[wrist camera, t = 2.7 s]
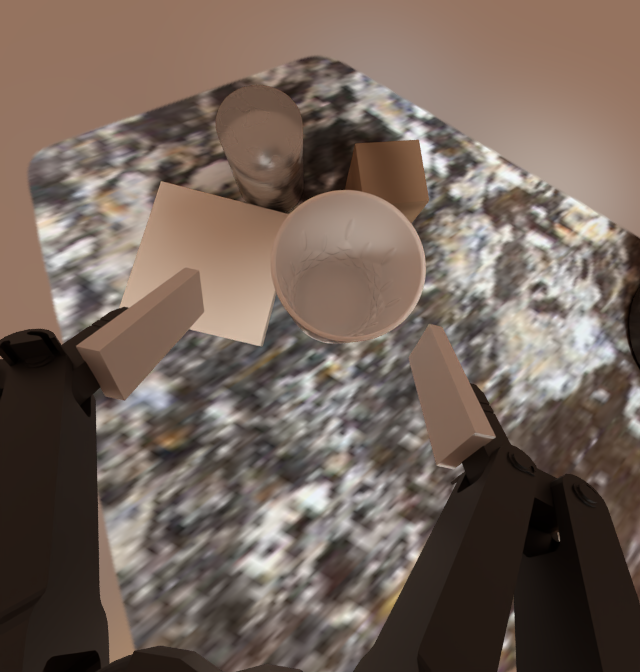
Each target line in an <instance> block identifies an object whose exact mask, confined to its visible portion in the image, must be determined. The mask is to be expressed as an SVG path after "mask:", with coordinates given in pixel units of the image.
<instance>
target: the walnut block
mask: <svg viewBox="0 0 640 672" xmlns="http://www.w3.org/2000/svg"><path fill="white" fill-rule="evenodd" d="M345 190H355V191H361V192H365V193H369V194H372V195H375V196H377V197H380V198H382V199H384V200H385V201H387V202H389V203H390V204H392V205H393V206H395V207H396V208H397V209H398V210H399V211H400V212H402V213H403V214H404V215H405V217H406V218H407V219H408V220H409V221H410V223H412V222H413V221H414V219H415V218H416V217H417V216H418V214H419V213H420V212H421V210H422V209H423V208H424V207H425V205H426V204H427V203H428V201H429V197H428V191H427V185H426V179H425V174H424V168H423V162H422V156H421V150H420V144H419V140H407V141H390V142H373V143H357V144H355V147H354V151H353V156H352V160H351V165H350V169H349V173H348V178H347V182H346V186H345Z"/></svg>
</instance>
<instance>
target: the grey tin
mask: <svg viewBox="0 0 640 672" xmlns="http://www.w3.org/2000/svg"><path fill="white" fill-rule="evenodd" d="M216 130H217V134H218V137H219V140H220V142H221V145H222V147H223V150H224V152H225V155H226V157H227V160H228V162H229V165H230V167H231V170H232V172H233V175H234V177H235V180H236V182H237V185H238V187H239V190H240V192H241V195H242V197H243V199H244V200H245V202H246V203H248V204H252V205H256V206H259V207H263V208H267V209H271V210H275V211H279V212H283V213H285V212H288V211H289V210H291V209H292V208H294V207H295V206H296V205H297V204H298V202H299V201H300V199H301V197H302V194H303V190H304V172H303V123H302V117H301V114H300V111H299V109H298V107H297V105H296V104H295V103H294V101H293V100H292V99H291V98H290V97H289V96H287V95H286V94H285V93H283V92H282V91H280V90H278V89H276V88H273V87H269V86H264V85H251V86H246V87H243V88H240V89H238V90H236V91H234V92H232V93H231V94H230V95H229V96H228V97H226V98H225V100H224V101H223V102H222V104H221V105H220V107H219V109H218V112H217V116H216Z"/></svg>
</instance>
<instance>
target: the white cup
mask: <svg viewBox="0 0 640 672" xmlns="http://www.w3.org/2000/svg"><path fill="white" fill-rule="evenodd" d="M270 266H271V276H272V281H273V285H274V288H275V291H276V293H277V295H278V297H279V299H280V301H281V303H282V304H283V306H284V307H285V309H286V310H287V312H288V313H289V315H290V316H291V318H292V319H293V321H294V322H295V323H296V325H297V326H298V327H299V328H300V329H301V330H302V331H303V332H304V333H306V334H307V335H308V336H310V337H312V338H314V339H315V340H317V341H321V342H325V343H333V344H342V343H351V342H358V341H365V340H370V339H373V338H376V337H379V336H382V335H384V334H386V333H388V332H389V331H391V330H393V329H394V328H396V327H397V326H398V325H400V324H401V323H402V322H403V321H404V320H405V319H406V318H407V317H408V316H409V314H410V313H411V312H412V310H413V309H414V307H415V306H416V304H417V302H418V300H419V298H420V296H421V293H422V290H423V287H424V282H425V276H426V261H425V254H424V250H423V246H422V243H421V241H420V238H419V236H418V234H417V232H416V230H415V229H414V227H413V225H412V224H411V223H410V221H409V220H408V219H407V218H406V217H405V215H404V214H403V213H402V212H400V211H399V210H398V209H397V208H396V207H395V206H393V205H392V204H390V203H389V202H387V201H385V200H384V199H382V198H380V197H377V196H375V195H372V194H369V193H365V192H361V191H355V190H337V191H330V192H326V193H322V194H319V195H317V196H314V197H312V198H310V199H308V200H306V201H305V202H303V203H302V204H300V205H299V206H298V207H297V208H295V209H294V210H293V211H292V212H291V213H290V214H289V215H288V216H287V218H286V219H285V220H284V222H283V223H282V225H281V226H280V228H279V230H278V232H277V234H276V237H275V239H274V242H273V246H272V251H271V261H270Z"/></svg>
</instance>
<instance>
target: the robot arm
mask: <svg viewBox="0 0 640 672" xmlns="http://www.w3.org/2000/svg"><path fill="white" fill-rule="evenodd" d="M203 313H204V305H203V297H202V289H201V281H200V273H199V270H195V269H190V268H186V267H185V268H184V269H182V270H181V271H179V272H178V273H177V274H175V275H174V276H173V277H171V278H170V279H168V280H167V281H166V282H164V283H163V284H161V285H160V286H159V287H157V288H156V289H154V290H153V291H152V292H150V293H149V294H148V295H146V296H145V297H143V298H142V299H141V300H139V301H138V302H136V303H135V304H134V305H132V306H131V307H129V308H128V307H122V308H119V309H116V310H114V311H111V312H109V313H108V314H106V315H105V316H104V317H102V318H101V319H100V320H98V321H96V322H95V323H93V324H92V326H89V327H87V328H86V329H84V330H83V331H82V332H80V333H79V334H77V335H76V336H74V337H73V338H71V339H70V340H68V341H67V342H65V343H64V344H62V345H61V344H60V342H59V341H58V339H57V338H56V336H55V334H54V333H53V332H51V331H49V330H45V329H28V330H24V331H20V332H16V333H13V334H11V335H8V336H6V337H4V338H3V339H1V340H0V356H1V357H2V358H3V359H0V672H223V671H222V670H220V669H219V668H218V667H216V666H215V665H213V664H212V663H211V662H209V661H208V660H206V659H205V658H203V657H202V656H201V655H199V654H198V653H196V652H195V651H189V650H183V649H177V648H171V647H165V646H156V647H151V648H146V649H141V650H136V651H134V652H133V654H132V655H128V656H126V657H124V658H121V659H118V660H116V661H114V662H112V663H110V664H109V637H108V623H107V618H106V614H105V611H104V609H103V606H102V604H101V600H100V589H99V541H98V493H97V445H96V400H95V397H94V395H93V394H94V393H95V392H96V391H97V390H98V389H99V388H101V390H102V391H103V393H104V395H105V396H106V397H111V398H115V399H120V400H126V399H127V397H128V396H129V395H130V394H131V393H132V392H133V391H134V390H135V389H136V387H137V386H138V385H139V384H140V383H141V382H142V381H143V380H144V379H145V377H146V376H147V375H148V374H149V373H150V372H151V371H152V370H153V369H154V367H155V366H156V365H157V364H158V363H159V362H160V361H161V360H162V359H163V357H164V356H165V355H166V354H167V353H168V352H169V351H170V350H171V349H172V347H173V346H174V345H175V344H176V343H177V342H178V341H179V340H180V339H181V337H182V336H183V335H184V334H185V333H186V332H187V331H188V330H189V329H190V327H191V326H192V325H193V324H194V323H195V322H196V321H197V320H198V319H199V317H200V316H201V315H202V314H203ZM629 329H630V338H631V343H632V347H633V350H634V353H635V356H636V359H637V361H638V363H639V365H640V287H639V289H638V291H637V293H636V295H635V297H634V300H633V303H632V306H631V311H630V320H629ZM409 362H410V366H411V370H412V373H413V377H414V381H415V385H416V389H417V393H418V396H419V400H420V404H421V408H422V412H423V416H424V419H425V423H426V427H427V431H428V435H429V439H430V442H431V446H432V450H433V454H434V458H435V462H436V465H437V466H441V467H446V468H451V469H455V468H456V467H457V466H459V465H460V464H461V463H462V464H463V467H464V470H465V472H464V473H462V474H461V475H459V476H458V477H457V478H455V479H454V480H453V481H452V482H451V483H452V484H455V483H456V482H457V483H456V485H455V487H454V489H453V491H452V493H451V495H450V497H449V499H448V501H447V503H446V505H445V507H444V509H443V511H442V513H441V515H440V517H439V519H438V521H437V523H436V525H435V526H434V528H433V530H432V532H431V534H430V536H429V538H428V540H427V542H426V544H425V546H424V548H423V550H422V552H421V554H420V556H419V558H418V560H417V562H416V564H415V566H414V568H413V570H412V572H411V574H410V575H409V577H408V579H407V581H406V583H405V585H404V587H403V589H402V591H401V593H400V595H399V597H398V599H397V601H396V603H395V605H394V607H393V609H392V611H391V613H390V615H389V617H388V619H387V621H386V623H385V624H384V626H383V628H382V630H381V632H380V634H379V636H378V638H377V640H376V642H375V644H374V645H373V647H372V648H371V650H370V651H369V652H368V653H367V654H366V655H365V656H364V657H363V658H362V659H361V660H360V662H359V663H358V665H357V666H356V668H355V670H354V671H353V672H497V670H498V665H499V661H500V656H501V651H502V647H503V642H504V637H505V633H506V628H507V623H508V619H509V614H510V609H511V605H512V600H513V595H514V613H515V640H516V668H517V672H640V603H639V600H638V597H637V594H636V591H635V588H634V585H633V582H632V579H631V576H630V573H629V570H628V567H627V564H626V561H625V558H624V555H623V552H622V549H621V546H620V543H619V540H618V537H617V534H616V531H615V528H614V525H613V522H612V519H611V516H610V513H609V510H608V508H607V506H606V504H605V502H604V500H603V499H602V497H601V496H600V495H599V494H598V492H597V491H596V490H595V489H594V488H593V487H592V486H590V485H589V484H588V483H587V482H585V481H584V480H582V479H581V478H579V477H577V476H575V475H572V474H565V475H563V476H561V477H559V478H555V477H553V476H551V475H549V474H547V473H545V472H543V471H541V470H539V469H537V467H536V465H535V464H534V462H533V461H532V460H531V458H530V457H529V456H528V455H527V454H525V453H524V452H523V451H522V450H520V449H519V448H517V447H515V446H513V445H511V444H510V442H509V440H508V438H507V436H506V434H505V433H504V431H503V429H502V427H501V425H500V423H499V421H498V419H497V417H496V415H495V414H493V410H492V408H491V406H489V402H488V400H487V398H486V397H485V395H484V393H483V392H482V391H481V390H480V389H479V388H478V387H477V386H476V385H475V384H471V383H469V381H468V379H467V377H466V375H465V373H464V371H463V369H462V367H461V365H460V363H459V361H458V359H457V356H456V354H455V352H454V350H453V348H452V346H451V344H450V342H449V340H448V338H447V336H446V334H445V332H444V330H443V328H442V327H440V326H436V325H431V324H429V325H428V327H427V328H426V330H425V332H424V333H423V335H422V337H421V338H420V340H419V342H418V343H417V345H416V346H415V348H414V350H413V351H412V353H411V355H410V356H409ZM557 532H559V534H560V542H559V540H558V535H557ZM237 672H303V671H301V670H300V669H294V668H288V667H283V666H277V665H271V664H264V665H260V666H256V667H252V668H249V669H245V670H241V671H237Z"/></svg>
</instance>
